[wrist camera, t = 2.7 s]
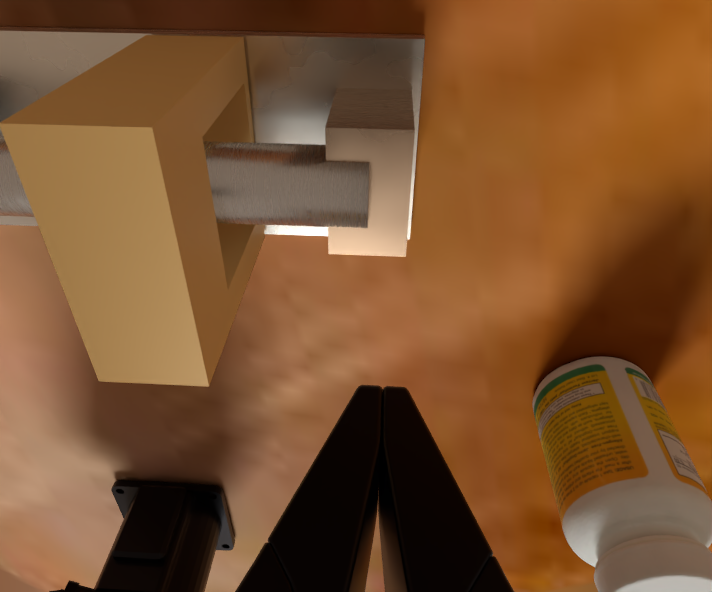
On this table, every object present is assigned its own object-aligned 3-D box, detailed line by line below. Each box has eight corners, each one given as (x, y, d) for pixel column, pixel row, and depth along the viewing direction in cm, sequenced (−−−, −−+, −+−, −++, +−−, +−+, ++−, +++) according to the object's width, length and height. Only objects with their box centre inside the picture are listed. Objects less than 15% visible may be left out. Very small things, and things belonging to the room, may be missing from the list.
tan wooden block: (243, 36, 17) (152, 127, 10) (264, 236, 21) (209, 386, 15) (146, 34, 17) (-2, 123, 11) (186, 233, 21) (98, 381, 15)
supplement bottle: (668, 357, 24) (794, 575, 17) (623, 435, 28) (711, 647, 20) (547, 346, 24) (617, 557, 17) (517, 425, 28) (564, 632, 20)
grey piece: (423, 34, 17) (432, 79, 13) (409, 230, 21) (412, 309, 17) (-308, 20, 18) (-506, 58, 14) (-184, 210, 22) (-309, 281, 18)
